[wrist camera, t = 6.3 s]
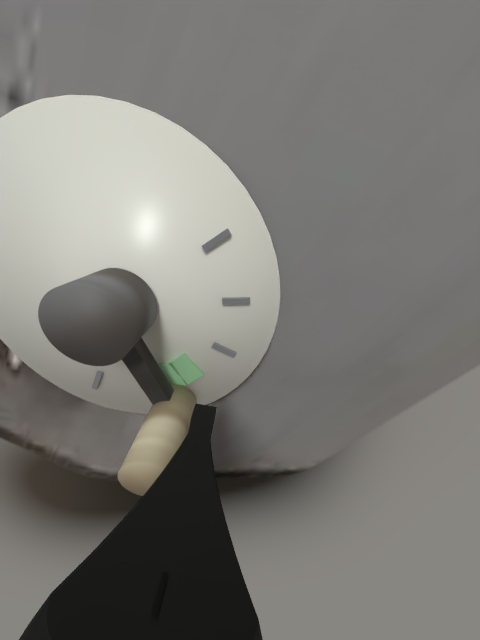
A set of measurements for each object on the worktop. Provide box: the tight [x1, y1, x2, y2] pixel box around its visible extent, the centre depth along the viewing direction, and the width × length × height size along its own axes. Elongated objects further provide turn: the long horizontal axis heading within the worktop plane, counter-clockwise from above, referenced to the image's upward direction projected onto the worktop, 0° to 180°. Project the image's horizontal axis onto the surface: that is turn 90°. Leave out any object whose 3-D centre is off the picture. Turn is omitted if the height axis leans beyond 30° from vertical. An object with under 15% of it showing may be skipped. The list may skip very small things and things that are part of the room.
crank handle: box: [38, 268, 197, 496], centre depth 10 cm, size 10×4×5 cm, turn 19°
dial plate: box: [0, 95, 280, 414], centre depth 12 cm, size 16×16×1 cm
